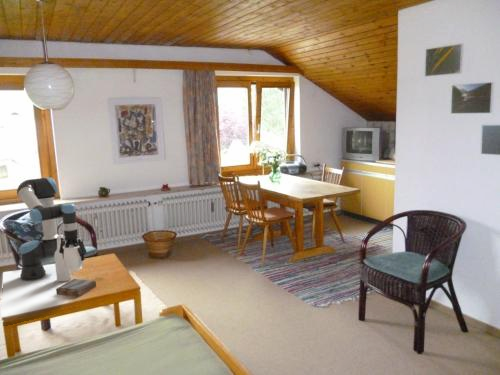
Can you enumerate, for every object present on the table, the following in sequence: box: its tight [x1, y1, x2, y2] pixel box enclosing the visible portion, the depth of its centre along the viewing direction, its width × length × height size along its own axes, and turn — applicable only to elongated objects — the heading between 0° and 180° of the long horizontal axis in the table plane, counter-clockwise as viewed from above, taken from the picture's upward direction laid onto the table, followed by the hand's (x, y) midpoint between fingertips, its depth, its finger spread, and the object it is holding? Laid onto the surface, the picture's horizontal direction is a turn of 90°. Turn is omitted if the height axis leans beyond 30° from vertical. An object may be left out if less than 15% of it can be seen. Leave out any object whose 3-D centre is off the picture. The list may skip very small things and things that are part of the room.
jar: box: [63, 245, 83, 273], centre depth 259 cm, size 11×10×15 cm
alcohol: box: [53, 234, 73, 283], centre depth 279 cm, size 9×9×30 cm
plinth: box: [55, 278, 97, 298], centre depth 263 cm, size 16×16×4 cm
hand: (74, 264), depth 260 cm, fingers closed on jar, 10 cm apart
